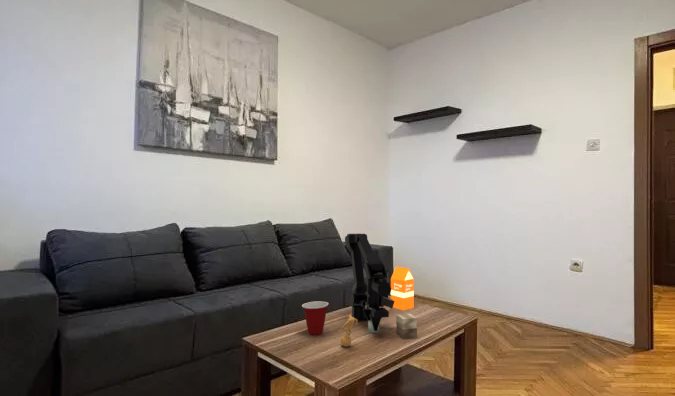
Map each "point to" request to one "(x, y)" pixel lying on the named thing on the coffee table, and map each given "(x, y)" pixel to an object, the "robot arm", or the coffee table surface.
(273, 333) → the coffee table surface
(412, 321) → the birch block
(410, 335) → the walnut block
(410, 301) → the orange juice
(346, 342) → the figurine
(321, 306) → the plastic cup
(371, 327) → the stubby sage cylinder
